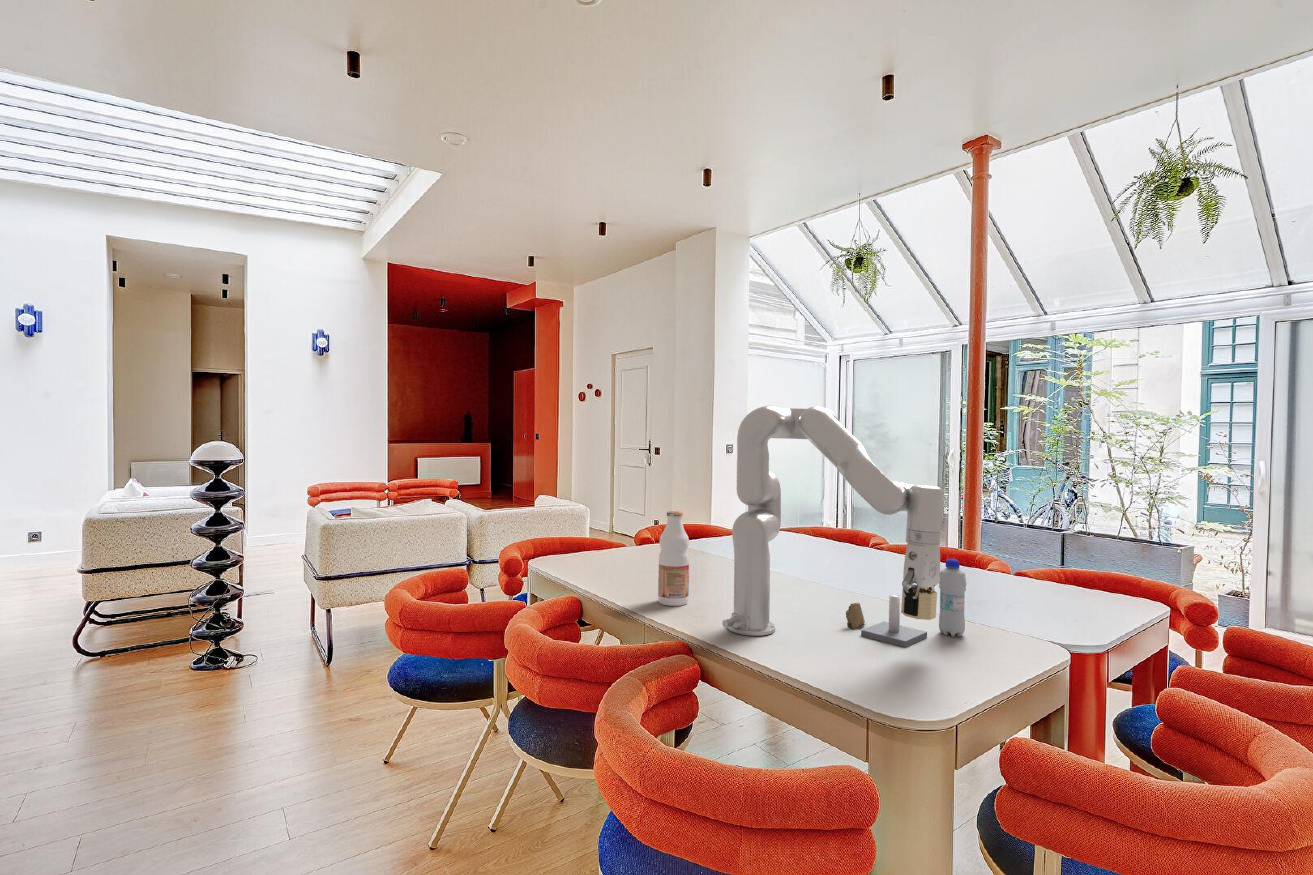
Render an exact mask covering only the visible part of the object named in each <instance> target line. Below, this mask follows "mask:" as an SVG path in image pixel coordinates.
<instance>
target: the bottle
mask: <svg viewBox="0 0 1313 875" xmlns="http://www.w3.org/2000/svg"><path fill="white" fill-rule="evenodd" d="M966 578H967V577H966V573H965V571H963V570H962V569H960V561H959V560H958V559H955V558H948V559H946V561H945V568H943V569H940V582H939V583H938V588H939V595H940V596H939V616H938V629H939V632H940V633H941V634H944V635H945V636H948V635H949V633H950V635H951V637H952V638H953V637H955V636H957V637H961V636H963V635H964V633H965V629H966V621H965V620H966V619H965V618H966V616H965V595H966V591H967V580H966Z"/></svg>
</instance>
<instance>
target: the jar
mask: <svg viewBox="0 0 1313 875" xmlns="http://www.w3.org/2000/svg"><path fill="white" fill-rule="evenodd" d="M912 589H913V591H915V588H912ZM901 590H902V593H901V595H902V596H901V605H900V614H903V615H904V616H905V617H908V618H911V619H916V620H924V621H926V620H927V621H928V620H929V621H931V620H934V619H936V616H937V604H938V603H937V600H938V592H937V591H936V590H935V591H934V590H933V589H929V588H925V589H922V588H920V590H919V593H918V597H917V599H919V606H918V616H912V615H908V614H905V613H904V591H903V589H901Z"/></svg>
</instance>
